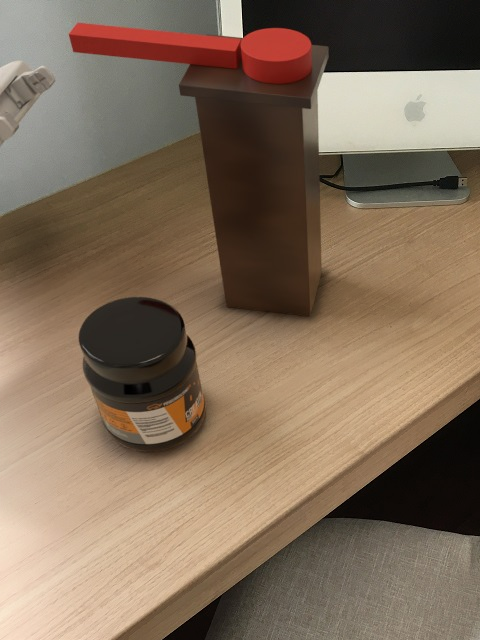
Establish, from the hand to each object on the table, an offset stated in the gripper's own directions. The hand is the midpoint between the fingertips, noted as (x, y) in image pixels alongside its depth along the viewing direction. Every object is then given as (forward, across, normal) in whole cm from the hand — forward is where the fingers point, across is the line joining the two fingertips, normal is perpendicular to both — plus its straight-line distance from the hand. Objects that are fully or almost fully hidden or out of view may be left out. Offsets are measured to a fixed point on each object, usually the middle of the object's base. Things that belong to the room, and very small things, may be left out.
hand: (30, 97), depth 78 cm
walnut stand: (+10, +1, +30) cm, 31 cm away
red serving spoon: (+18, 0, +4) cm, 18 cm away
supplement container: (+2, -21, +26) cm, 34 cm away
